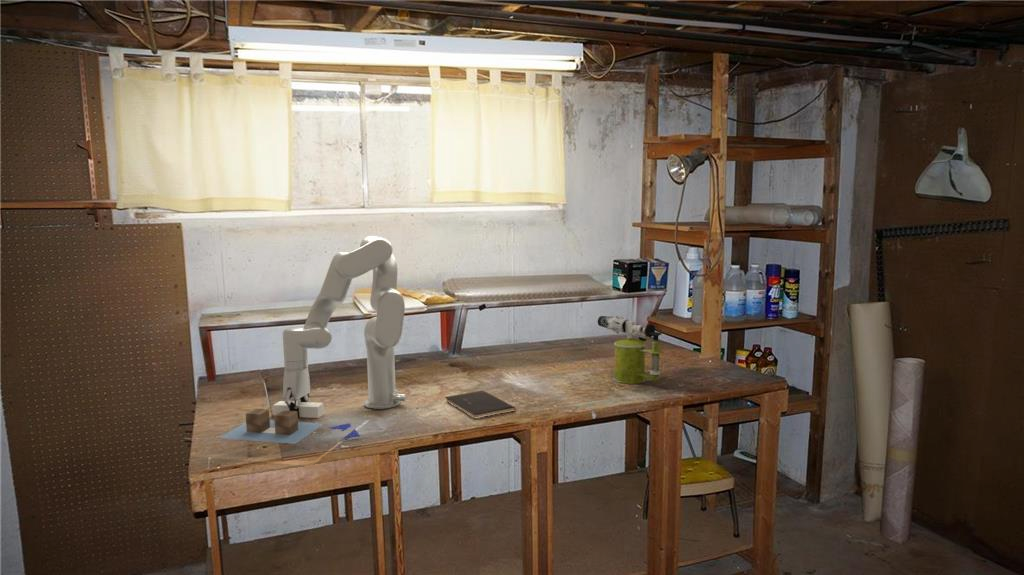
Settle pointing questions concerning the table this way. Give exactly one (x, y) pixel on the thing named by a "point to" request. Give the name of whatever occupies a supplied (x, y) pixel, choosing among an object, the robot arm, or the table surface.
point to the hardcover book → (479, 403)
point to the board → (272, 433)
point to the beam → (302, 409)
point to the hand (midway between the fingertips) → (299, 416)
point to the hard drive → (351, 435)
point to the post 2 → (286, 422)
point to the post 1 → (257, 420)
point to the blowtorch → (632, 350)
